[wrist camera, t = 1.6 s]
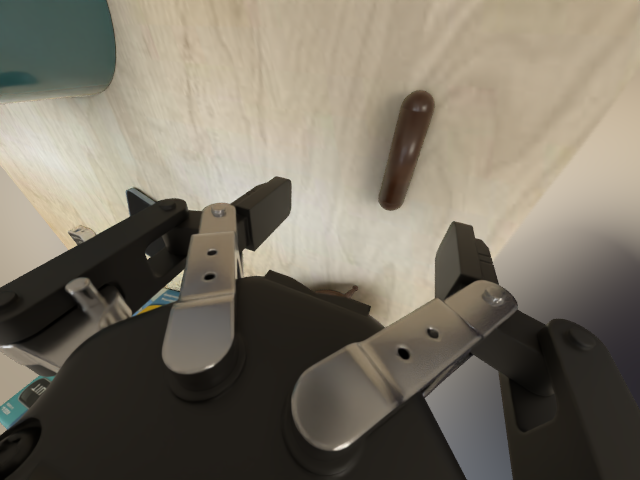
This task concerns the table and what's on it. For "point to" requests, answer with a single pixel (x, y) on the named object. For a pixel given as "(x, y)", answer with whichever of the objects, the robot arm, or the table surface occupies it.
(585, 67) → the table surface
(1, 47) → the bowl
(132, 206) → the smartphone
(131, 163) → the table surface
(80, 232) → the multiport hub
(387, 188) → the stick
